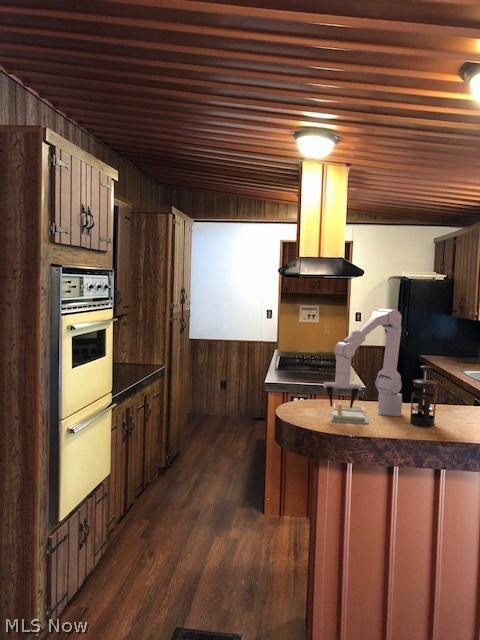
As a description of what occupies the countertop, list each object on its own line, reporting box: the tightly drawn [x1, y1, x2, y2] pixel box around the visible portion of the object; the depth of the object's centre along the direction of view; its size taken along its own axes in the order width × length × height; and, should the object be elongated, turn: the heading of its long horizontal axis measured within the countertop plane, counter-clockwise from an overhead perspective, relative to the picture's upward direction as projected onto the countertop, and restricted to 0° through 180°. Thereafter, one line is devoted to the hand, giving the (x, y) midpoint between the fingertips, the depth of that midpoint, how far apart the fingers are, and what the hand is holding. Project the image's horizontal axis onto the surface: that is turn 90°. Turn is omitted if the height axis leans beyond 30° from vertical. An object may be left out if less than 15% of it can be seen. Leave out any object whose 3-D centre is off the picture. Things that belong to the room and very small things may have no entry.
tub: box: [332, 403, 365, 414], centre depth 223 cm, size 12×8×2 cm, turn 81°
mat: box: [330, 413, 370, 425], centre depth 213 cm, size 14×10×1 cm
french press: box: [409, 365, 438, 428], centre depth 209 cm, size 12×9×23 cm
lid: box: [332, 401, 365, 421], centre depth 212 cm, size 12×8×6 cm, turn 81°
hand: (341, 406), depth 213 cm, fingers open, 7 cm apart
